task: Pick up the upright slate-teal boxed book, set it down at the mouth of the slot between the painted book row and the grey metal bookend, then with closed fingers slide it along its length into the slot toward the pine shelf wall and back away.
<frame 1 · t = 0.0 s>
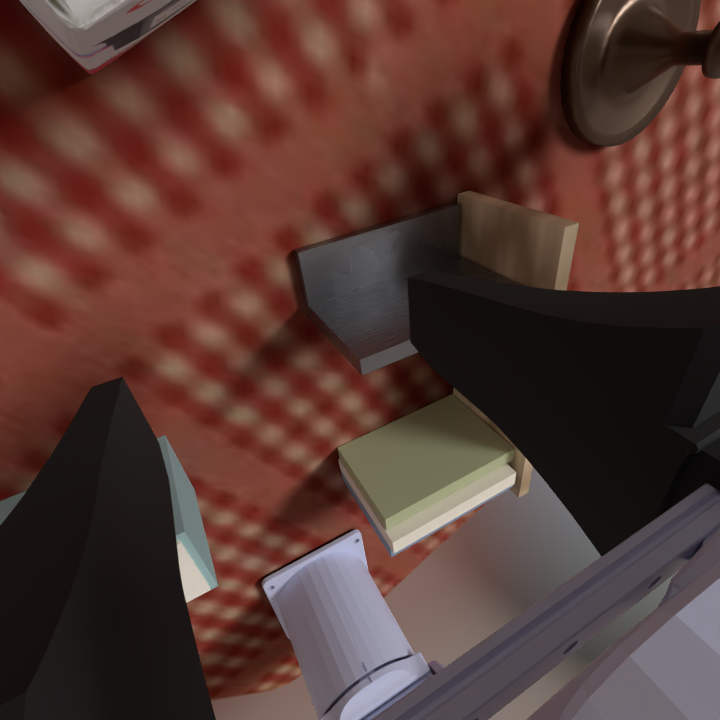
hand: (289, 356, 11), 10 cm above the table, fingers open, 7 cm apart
book row: (397, 436, 31), on the table
boxed book: (100, 496, 22), on the table
candlestick: (620, 52, 24), on the table
shelf wall: (459, 333, 28), on the table
bookend: (384, 282, 24), on the table
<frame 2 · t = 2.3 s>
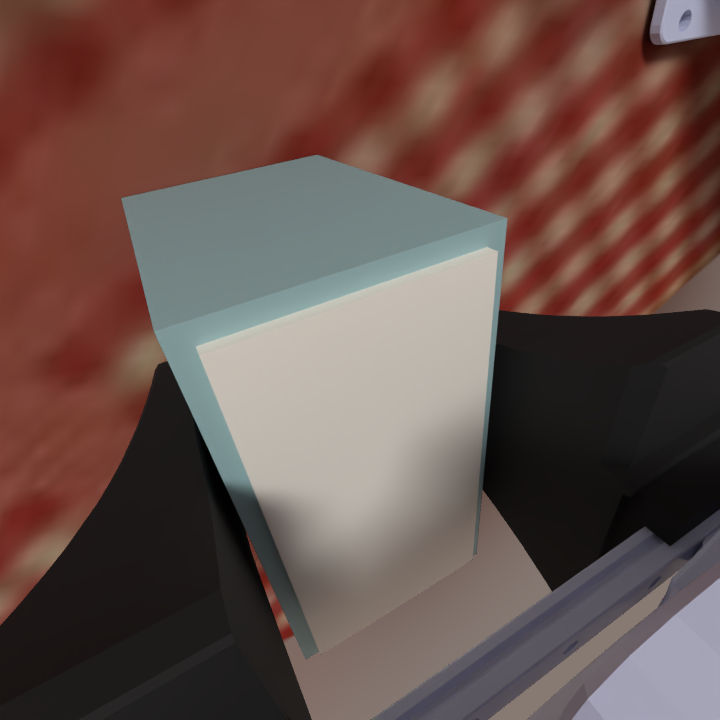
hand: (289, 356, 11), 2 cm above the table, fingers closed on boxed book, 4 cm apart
boxed book: (268, 327, 12), on the table, touching gripper
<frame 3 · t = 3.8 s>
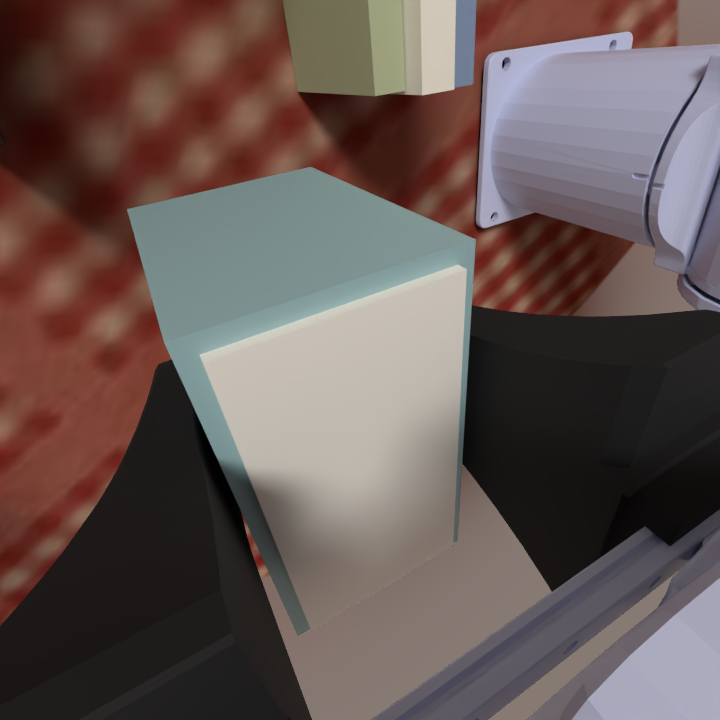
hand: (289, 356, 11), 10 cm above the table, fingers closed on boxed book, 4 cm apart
boxed book: (264, 328, 13), point 8 cm above the table, touching gripper
when the fingers open (3 cm above the table, at t = 5.5 s): boxed book stays where it is, on the table.
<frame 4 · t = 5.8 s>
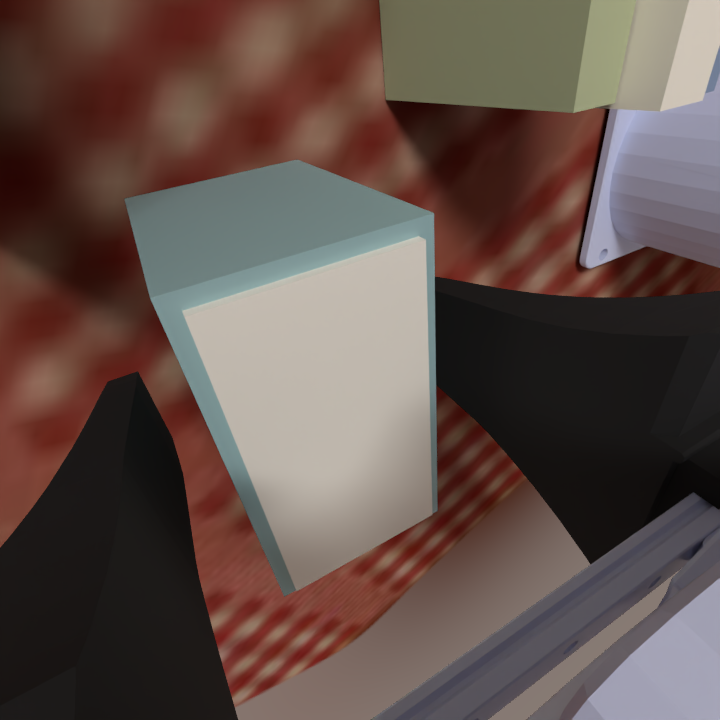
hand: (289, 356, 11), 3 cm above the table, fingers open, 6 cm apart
boxed book: (255, 313, 13), on the table
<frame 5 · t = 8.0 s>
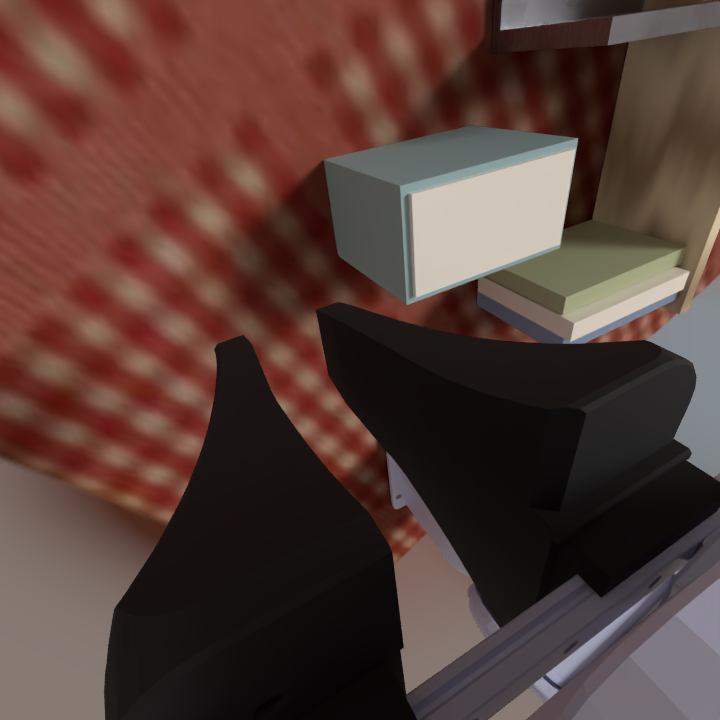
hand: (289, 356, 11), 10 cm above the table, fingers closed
book row: (534, 262, 28), on the table
boxed book: (404, 190, 21), on the table
shelf wall: (614, 134, 26), on the table
bookend: (566, 31, 21), on the table
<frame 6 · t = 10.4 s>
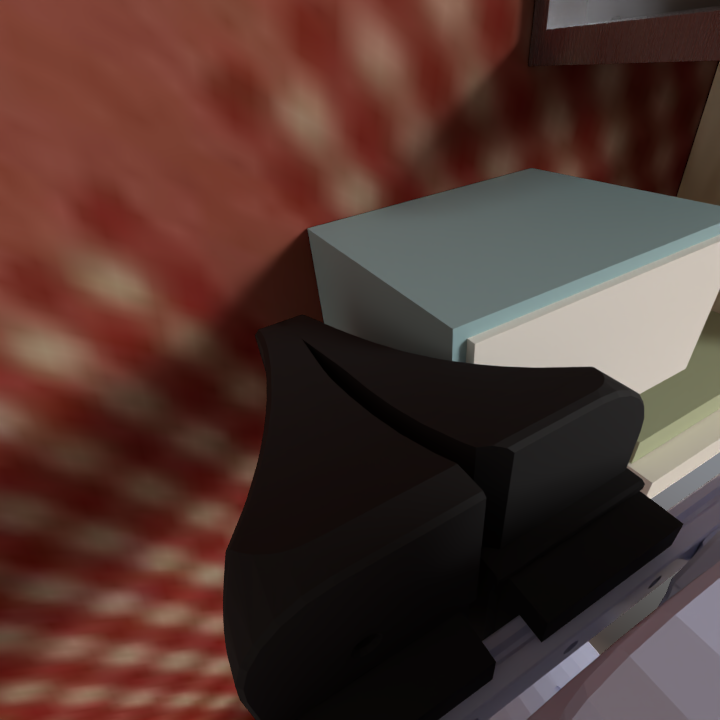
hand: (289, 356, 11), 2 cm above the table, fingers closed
book row: (571, 345, 21), on the table
boxed book: (431, 264, 14), on the table, touching gripper
shelf wall: (688, 177, 18), on the table
bookend: (641, 31, 14), on the table
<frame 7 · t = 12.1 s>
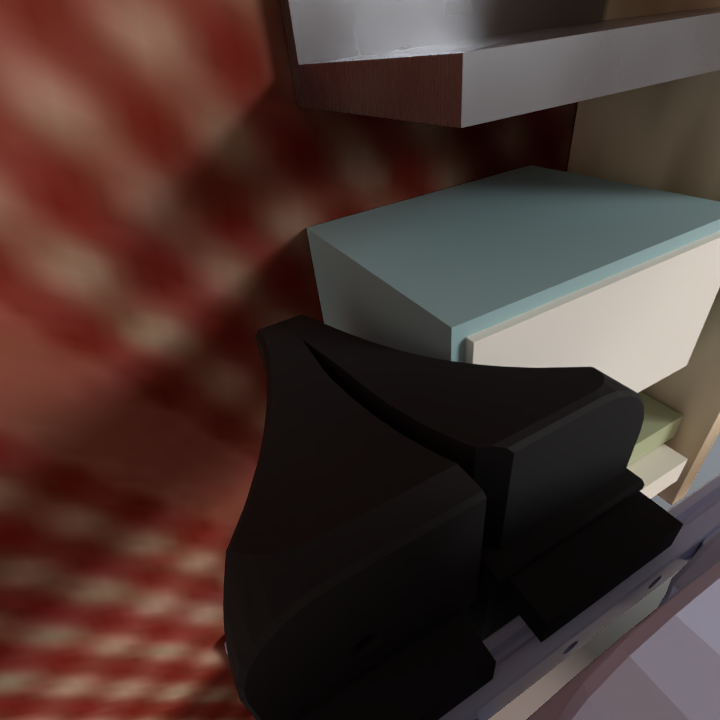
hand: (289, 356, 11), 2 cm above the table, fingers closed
book row: (450, 401, 18), on the table
boxed book: (430, 262, 14), on the table, touching gripper
shelf wall: (567, 216, 16), on the table
bookend: (457, 59, 11), on the table
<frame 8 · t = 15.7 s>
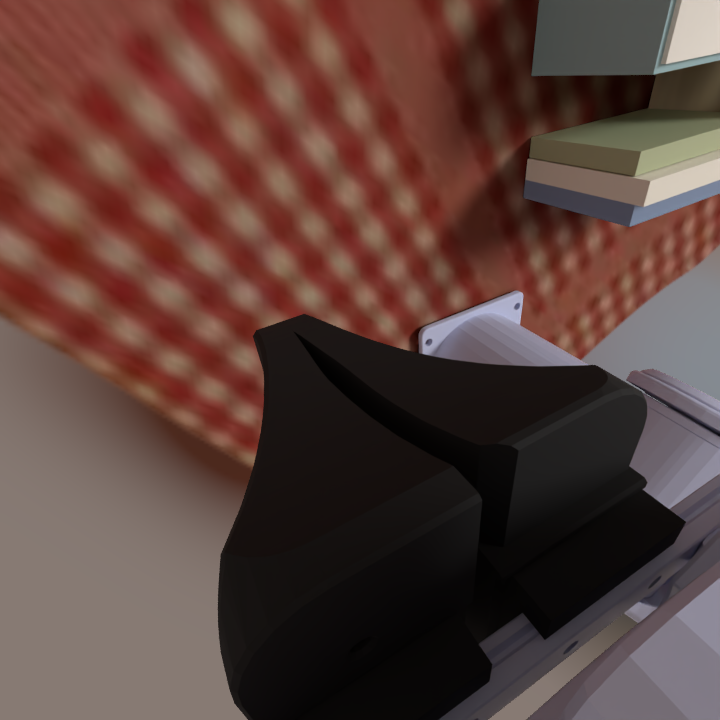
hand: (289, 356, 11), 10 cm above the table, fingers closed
book row: (585, 152, 25), on the table
boxed book: (596, 11, 21), on the table
shelf wall: (679, 0, 23), on the table
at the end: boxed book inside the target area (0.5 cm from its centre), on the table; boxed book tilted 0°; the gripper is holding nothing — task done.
